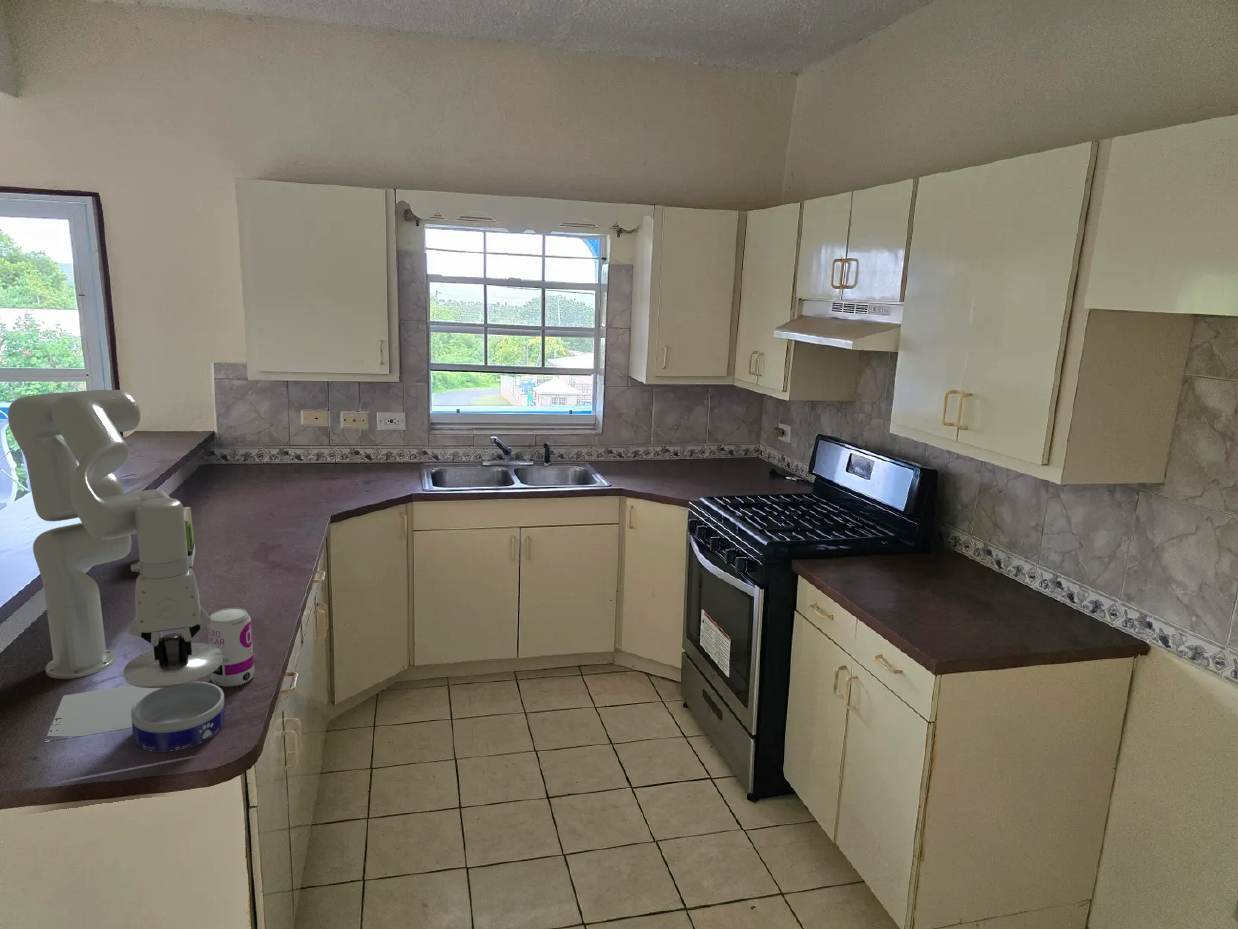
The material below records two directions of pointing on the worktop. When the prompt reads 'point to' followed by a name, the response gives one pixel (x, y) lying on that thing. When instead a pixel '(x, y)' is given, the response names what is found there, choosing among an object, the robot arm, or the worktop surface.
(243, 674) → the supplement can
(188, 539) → the tea box
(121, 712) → the mat
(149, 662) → the lid
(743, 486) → the worktop surface
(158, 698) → the dog bowl
